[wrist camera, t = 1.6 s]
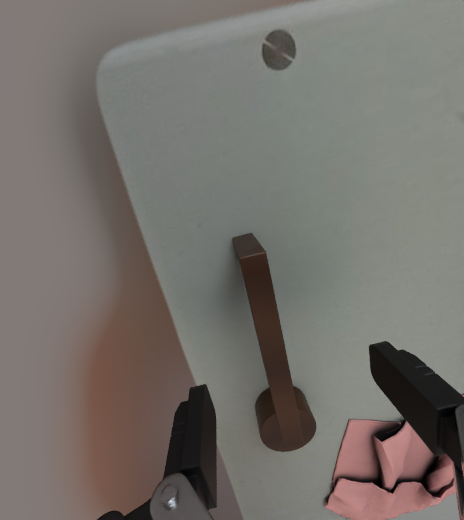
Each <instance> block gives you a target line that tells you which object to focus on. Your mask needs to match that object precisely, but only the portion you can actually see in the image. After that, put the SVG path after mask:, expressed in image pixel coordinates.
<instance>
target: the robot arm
mask: <svg viewBox="0 0 464 520" xmlns="http://www.w3.org/2000/svg"><path fill="white" fill-rule="evenodd" d="M369 355H370V368H371V373H372V376H373V379H374V380H375V382H376V384H377V385H378V386H379V388H380V389H381V390H382V391H383V392H384V394H385V395H386V396H387V397H388V399H389V400H390V401H391V402H392V404H393V405H394V406H395V407H396V409H397V410H398V411H399V412H400V414H401V415H402V416H403V417H404V418H405V420H406V421H407V422H408V423H409V425H410V426H411V427H412V428H413V430H414V431H415V432H416V433H417V435H418V436H419V437H420V438H421V440H422V441H423V442H424V443H425V445H426V446H427V447H428V448H429V449H430V451H431V452H432V453H433V454H434V456H435V457H436V456H441V455H445V454H447V455H448V457H449V458H450V459H451V460H452V461H453V473H454V481H455V488H456V495H457V502H458V510H459V517H460V520H464V397H463V396H462V395H461V394H460V393H458V392H457V391H456V390H455V389H454V388H453V387H451V386H450V385H449V384H448V383H447V382H446V381H444V380H443V379H442V378H441V377H440V376H439V375H437V374H435V372H434V371H433V370H432V369H430V368H429V367H427V366H426V364H425V363H423V362H422V361H421V360H420V359H419V358H418V357H416V356H415V355H413V354H411V353H409V352H407V351H405V350H399V351H398V350H397V349H396V348H394V347H393V346H392V345H391V344H390V343H389V342H387V341H384V342H380V343H376V344H372V345H370V346H369ZM171 435H172V436H171V438H170V444H169V450H168V455H167V461H166V466H165V472H164V477H163V480H162V481H161V482H160V483H159V484H158V486H157V487H156V489H155V491H154V492H153V495H152V497H151V498H150V499H149V500H148V501H147V502H146V503H144V504H143V505H141V506H140V507H138V508H137V509H135V510H133V511H132V512H130V513H129V514H127V515H126V516H123V515H122V513H120V512H119V511H110V512H108V513H106V514H104V515H103V516H101V517H100V518H99V519H97V520H214V519H213V518H212V516H211V515H210V513H209V511H208V510H209V509H211V508H216V507H217V493H216V492H217V491H216V490H217V486H216V485H217V482H216V481H217V479H216V414H215V409H214V406H213V403H212V400H211V397H210V394H209V391H208V388H207V385H206V384H203V385H199V386H195V387H191V388H190V391H189V399H188V401H185V402H181V403H180V405H179V407H178V409H177V411H176V412H175V416H174V422H173V427H172V433H171Z"/></svg>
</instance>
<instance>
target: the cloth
mask: <svg viewBox="0 0 464 520" xmlns="http://www.w3.org/2000/svg"><path fill="white" fill-rule="evenodd" d="M462 396H463V397H464V394H463V395H462ZM332 482H333V485H334V486H335V489H334V491H333V492H332V494H331V495H330V498H329V499H328V500H327V501H325V507H326V508H328V509H329V510H331V511H333V512H335V513H337V514H339V515H341V516H344V517H346V518H349V519H353V520H385V519H388V518H396V517H397V516H399V515H400V514H403V513H409V512H410V511H420V510H423V509H425V508H426V507H428V506H434V505H436V504H438V503H440V502H442V501H443V500H444V499H445V498H446V497H447V496H450V495H452V494H454V493H456V488H455V481H454V473H453V461H452V460H451V459H450V458H449V457H448V455H447V454H445V455H441V456H436V457H435V456H434V454H433V453H432V452H431V451H430V449H429V448H428V447H427V446H426V445H425V443H424V442H423V441H422V440H421V438H420V437H419V436H418V435H417V433H416V432H415V431H414V430H413V428H412V427H411V426H410V425H409V423H408V422H407V421H406V422H405V425H404V427H403V428H402V429H401V422H382V421H374V420H349V423H348V426H347V429H346V432H345V435H344V438H343V441H342V445H341V448H340V451H339V455H338V458H337V463H336V468H335V471H334V475H333V479H332Z"/></svg>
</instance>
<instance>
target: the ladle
mask: <svg viewBox="0 0 464 520" xmlns="http://www.w3.org/2000/svg"><path fill="white" fill-rule="evenodd" d="M233 243H234V247H235V251H236V255H237V259H238V262H239V265H240V268H241V272H242V275H243V279H244V283H245V288H246V292H247V296H248V300H249V304H250V309H251V313H252V317H253V321H254V325H255V330H256V334H257V338H258V342H259V346H260V351H261V355H262V359H263V363H264V367H265V371H266V376H267V380H268V384H269V388H268V389H267V390H265V391H264V392H263V393H262V394H261V395H260V396H259V397H258V399H257V401H256V405H255V410H256V416H257V421H258V427H259V432H260V437H261V440H262V442H263V443H264V444H265V445H266V446H267V447H268V448H270V449H272V450H275V451H281V452H286V451H293V450H296V449H299V448H301V447H303V446H304V445H306V444H307V443H308V442H309V441H310V440H311V439H312V438H313V436H314V434H315V432H316V422H315V419H314V417H313V414H312V412H311V410H310V407H309V405H308V403H307V400H306V398H305V396H304V394H303V392H302V391H301V390H299V389H298V388H296V387H294V386H293V385H292V380H291V375H290V370H289V365H288V360H287V355H286V350H285V345H284V340H283V335H282V330H281V325H280V319H279V314H278V309H277V304H276V299H275V294H274V289H273V284H272V279H271V274H270V269H269V264H268V259H267V254H266V251H265V250H264V249H263V247H262V246H261V245H260V243H259V242H258V241H257V239H256V238H255V237H254V235H253V234H252V233H250V234H246V235H242V236H238V237H234V238H233Z"/></svg>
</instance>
